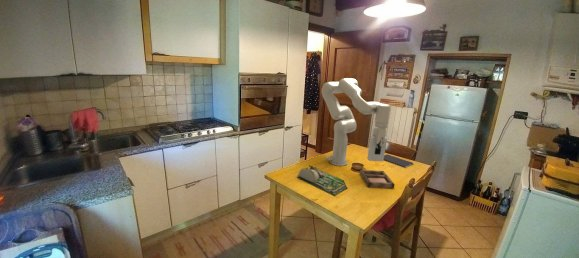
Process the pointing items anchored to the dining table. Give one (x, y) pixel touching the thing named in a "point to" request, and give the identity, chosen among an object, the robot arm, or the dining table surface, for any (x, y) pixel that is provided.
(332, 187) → the green board with half-disc
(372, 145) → the acrylic panel
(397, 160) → the notebook
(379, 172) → the brown wooden tray
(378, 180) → the offcut top
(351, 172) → the dining table surface
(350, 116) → the robot arm
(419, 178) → the dining table surface
